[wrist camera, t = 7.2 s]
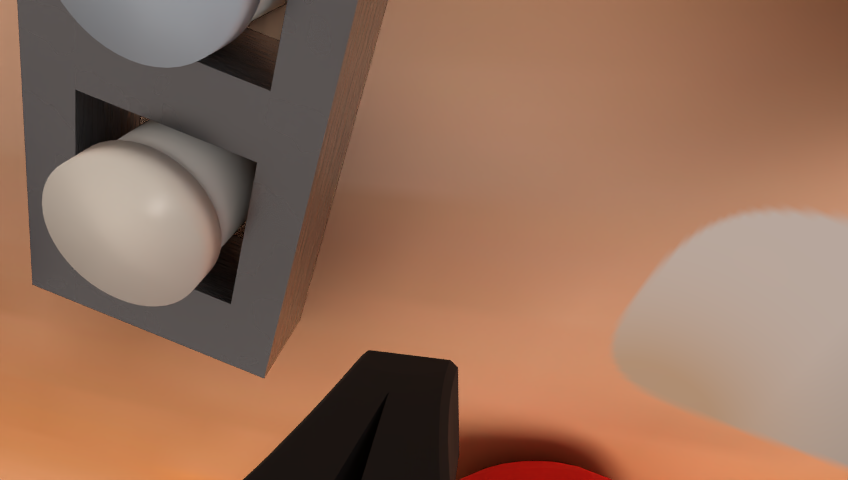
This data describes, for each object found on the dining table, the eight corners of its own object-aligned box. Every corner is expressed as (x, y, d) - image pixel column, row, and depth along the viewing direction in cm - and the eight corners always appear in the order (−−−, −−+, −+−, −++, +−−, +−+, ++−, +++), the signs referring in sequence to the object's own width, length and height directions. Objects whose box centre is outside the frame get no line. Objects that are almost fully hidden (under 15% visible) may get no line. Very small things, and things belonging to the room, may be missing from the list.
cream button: (287, 127, 19) (212, 198, 15) (263, 243, 21) (193, 329, 17) (148, 71, 19) (39, 129, 15) (140, 194, 21) (44, 268, 18)
